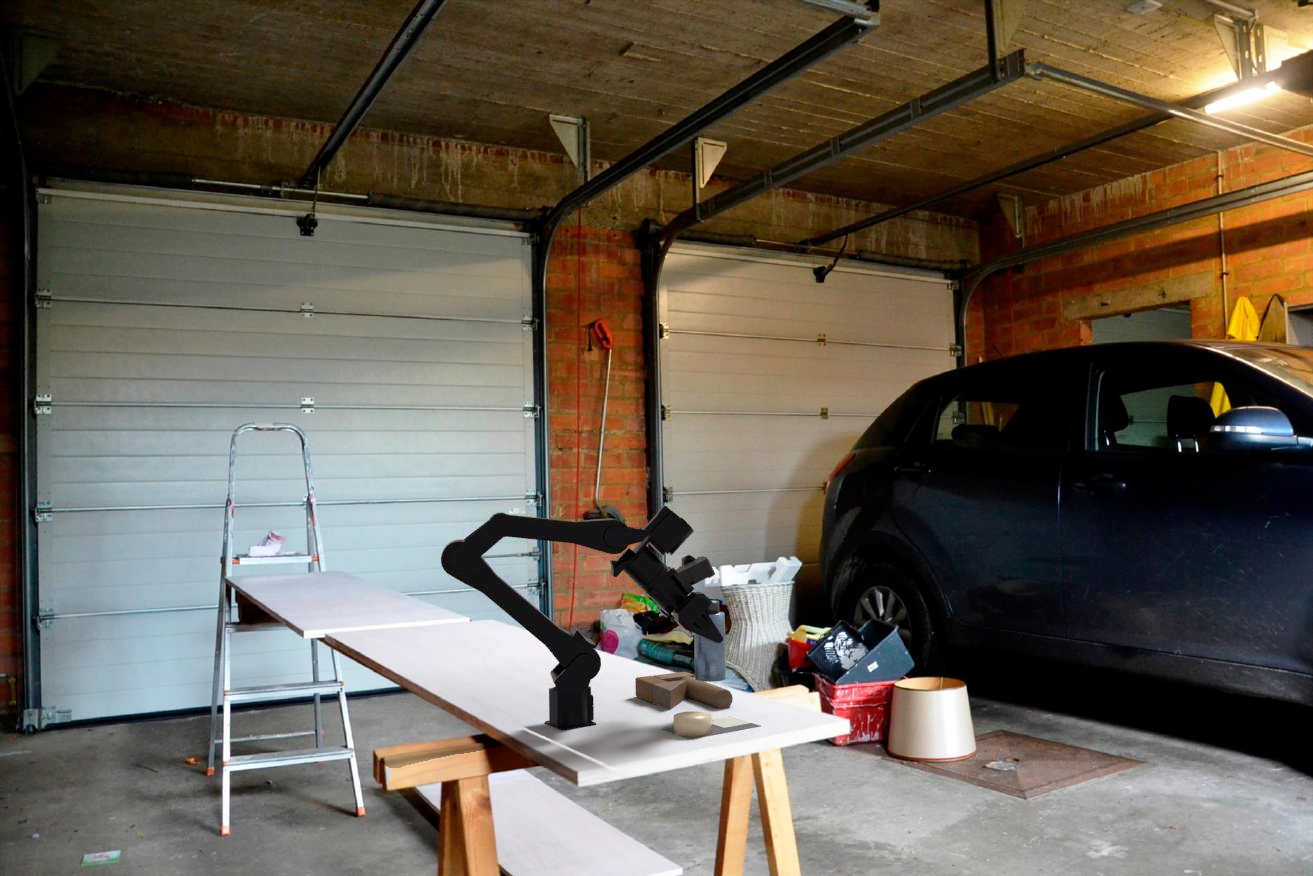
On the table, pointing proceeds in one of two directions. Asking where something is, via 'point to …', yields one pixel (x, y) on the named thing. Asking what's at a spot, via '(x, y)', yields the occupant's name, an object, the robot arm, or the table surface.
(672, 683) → the wooden block
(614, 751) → the table surface
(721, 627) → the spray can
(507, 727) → the table surface
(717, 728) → the mat
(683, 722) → the beige round puck
